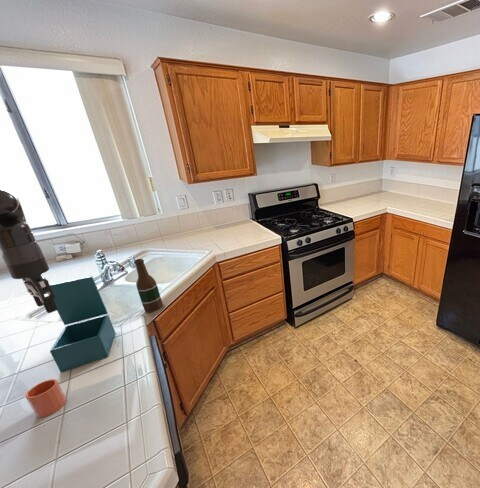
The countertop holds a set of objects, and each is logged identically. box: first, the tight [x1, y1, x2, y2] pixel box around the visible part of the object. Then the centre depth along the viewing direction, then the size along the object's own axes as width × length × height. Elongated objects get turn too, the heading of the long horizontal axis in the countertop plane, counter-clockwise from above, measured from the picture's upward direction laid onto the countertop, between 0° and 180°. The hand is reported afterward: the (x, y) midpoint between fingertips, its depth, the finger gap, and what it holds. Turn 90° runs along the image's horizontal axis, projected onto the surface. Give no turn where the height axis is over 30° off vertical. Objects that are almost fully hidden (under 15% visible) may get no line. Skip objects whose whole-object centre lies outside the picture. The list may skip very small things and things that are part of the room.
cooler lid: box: [49, 275, 109, 326], centre depth 97 cm, size 16×13×5 cm
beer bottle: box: [133, 258, 163, 313], centre depth 117 cm, size 8×8×24 cm
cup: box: [25, 378, 67, 418], centre depth 72 cm, size 6×6×7 cm
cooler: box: [49, 314, 116, 373], centre depth 94 cm, size 16×13×9 cm
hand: (47, 308), depth 80 cm, fingers open, 8 cm apart
